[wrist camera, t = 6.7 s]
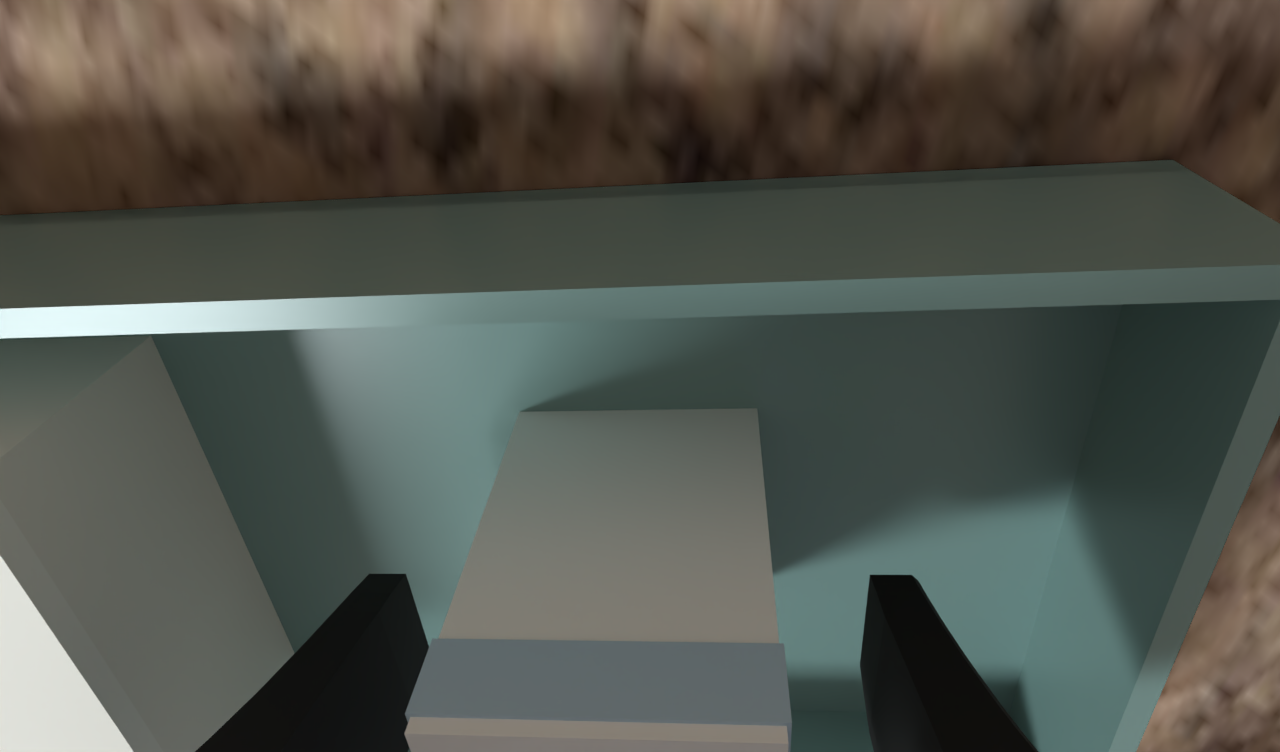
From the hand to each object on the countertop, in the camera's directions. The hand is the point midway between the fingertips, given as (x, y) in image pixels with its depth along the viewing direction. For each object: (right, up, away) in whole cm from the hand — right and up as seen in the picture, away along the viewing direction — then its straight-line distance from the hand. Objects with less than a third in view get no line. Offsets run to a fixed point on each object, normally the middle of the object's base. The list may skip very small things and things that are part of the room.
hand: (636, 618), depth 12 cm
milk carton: (0, +2, +2) cm, 2 cm away
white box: (-10, +1, +3) cm, 11 cm away
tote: (-3, +1, +3) cm, 5 cm away
